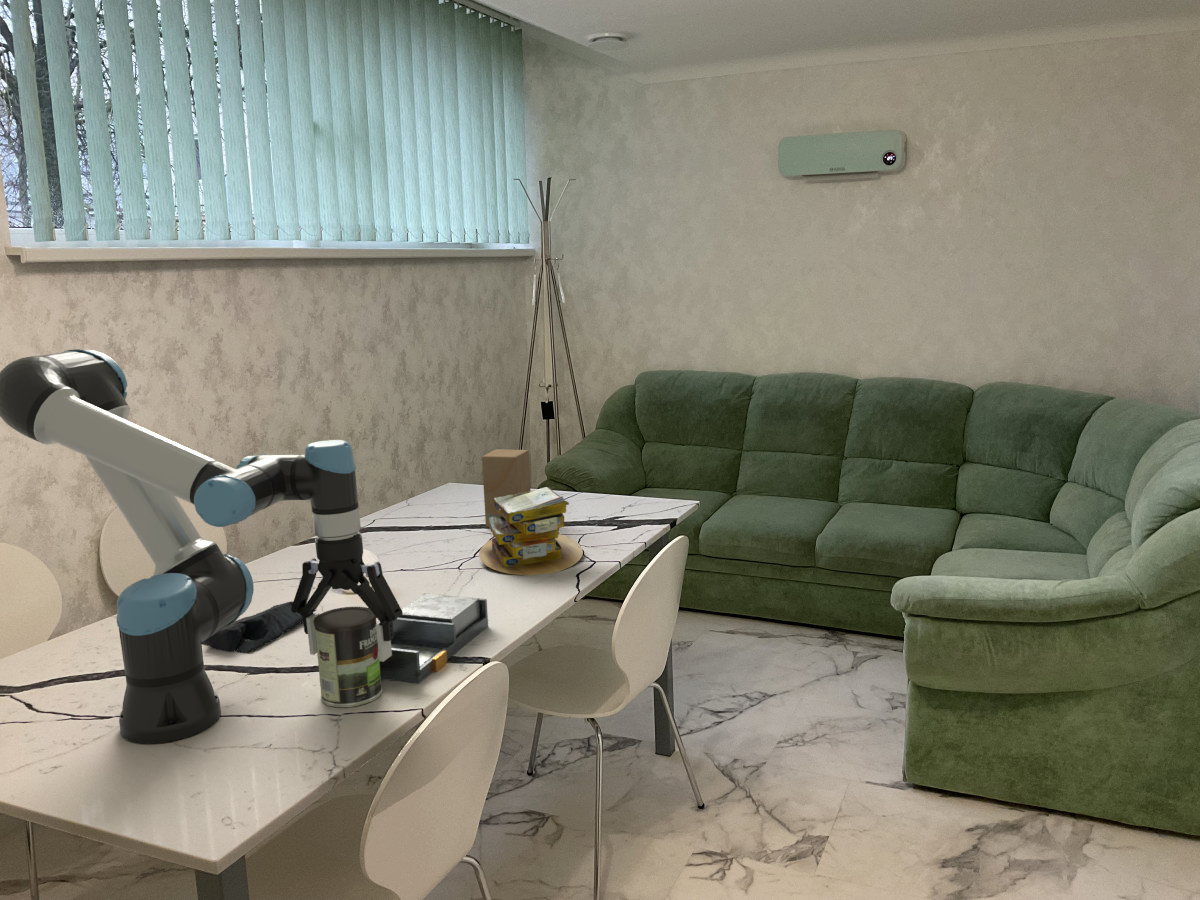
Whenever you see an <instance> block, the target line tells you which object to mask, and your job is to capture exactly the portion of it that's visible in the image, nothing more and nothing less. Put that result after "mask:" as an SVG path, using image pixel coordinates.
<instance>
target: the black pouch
mask: <svg viewBox="0 0 1200 900" xmlns="http://www.w3.org/2000/svg"><path fill="white" fill-rule="evenodd" d="M293 601H294V600H293ZM293 601H292V600H291V601H287V602H284V603H280V604H275V605H273V606H271V607H269V608H267V609H265V610H263V611H260V612H258V613H255V614H252V615H249V616H246V617H245V616H244V617H243V618H240V619H239V618H238V619H237V620H236V621H235V622H233V623H231V624H230V625H228V626H226V627H224V628H223V629H221V630H220V631H218V632H217V633H215V634H214V635H212V636H211V637H209V638H208V639H206V640H205V641H203V642H202V643H201V644H202V646H206V647H207V646H208V647H210V648H212V649H213V650H217V651H218V650H219V651H225V652H229V653H230V652H238V653H241V652H245V653H252V652H254V651H256V650H257V649H258V648H260V647H262V646H265V645H266V644H269V643H271V642H272V641H275V640H276V639H278V638H279V637H281V636H282V635H283V634H285V633H287V632H288V631H291V630H292V629H293V628H295V627H297V626H299V625H301V624H302V623H303V617H302V616H301V614H299V613H297V612H296V613H293V612H292V611H291V607H292V604H293Z"/></svg>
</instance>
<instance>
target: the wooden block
mask: <svg viewBox="0 0 1200 900" xmlns="http://www.w3.org/2000/svg"><path fill="white" fill-rule="evenodd" d="M529 453H530V452H529V450H528V449H508V448H507V449H503V448H502V449H501V448H498V449H497V448H496V449H493V450H492V451H490V452H488V453H485V455H484V454H483V455H482V456H481V465H482V481H483V482H482V483H483V485H482V486H483V496H484V497H483V498H484V500H483V501H484V502H483V503H484V516H485V517H484V520H485V527H486V528H488V529H490V528H489V518H488V517H489V516H490V515H494V516H495V515H498V516H501V514H499V512H498V511H496V510H495V508H494V498H498V497H503V496H507V495H513V496H514V495H515V494H520V493H519V492H521V493H523V492H524V494H527V493H525V492H528V491H530V492H532V490H531V475H530V474H531V473H530V472H531V471H530V454H529ZM530 492H528V493H530ZM515 496H516V495H515ZM487 513H488V514H490V515H488V514H487Z"/></svg>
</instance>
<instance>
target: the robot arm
mask: <svg viewBox="0 0 1200 900" xmlns="http://www.w3.org/2000/svg"><path fill="white" fill-rule="evenodd" d="M127 387H128V380H127V377H126V375H125V373H124V371H123V369H122V368H121V366H120V365H119V364H118V363H117V361H115V360H114V358H112V357H111V356H109V355H107V354H105V353H103V352H100V351H97V350H94V349H75V348H74V349H68V350H64V351H60V352H53V353H47V354H42V355H41V354H40V355H35V356H33V355H32V356H27V357H26V356H25V357H20V358H19V359H16V360H13V361H12V362H10V363H8V364H7V365H5V366H4V367H3V368H2V369H1V370H0V418H1V419H2V420H3V421H4V423H6V425H8V426H9V427H10V428H11V429H13V430H15V431H16V432H18V433H19V434H21V435H23V436H25V437H27V438H28V439H31V440H33V441H36V442H37V443H40V444H43V445H49V446H50V445H53V444H56V443H57V444H59V445H61V446H63V447H66V448H68V449H70V450H72V451H74V452H77V453H79V454H81V455H83V456H85V458H86V459H87V461H88V462H89V464H90V465H91V467H92V469H93V470H94V472H95V473H96V476H97V477H98V478H99V479H100V481H101V483H102V484H103V486H104V487H105V489H106V490H107V492H108V493H109V495H110V496H111V499H113V501H114V503H115V505H116V506H117V508H118V509H119V511H120V512H121V514H122V515H123V517H124V518H125V520H126V521H127V523H128V524H129V527H130V528H131V530H132V531H133V533H134V535H136V537H137V539H138V541H139V542H140V543H141V545H142V547H143V548H144V550H145V551H146V553H147V554H148V555H149V557H150V559H151V561H152V562H153V564H154V571H153V575H152V576H150V577H149V578H142V579H140V580H137V581H136V582H134V583H132V584H130V585H129V586H127V587H125V589H123V591H122V592H121V593H120V594H119V595H118V598H117V602H116V624H117V627H118V632H119V638H120V639H119V641H120V645H121V653H122V661H123V667H124V668H123V669H124V674H125V676H124V677H125V682H126V687H125V691H124V696H123V701H122V706H121V707H122V710H121V711H120V714H119V717H118V719H119V721H118V723H119V730H120V731H119V732H120V735H121V737H122V738H124V739H125V740H126V741H128V742H131V743H136V744H162V743H168V742H173V741H174V742H175V741H177V740H182V739H185V738H189V737H191V736H194V735H196V734H199V733H201V732H203V731H206V730H207V729H208V728H210V727H211V726H213V725H214V724H215V723H216V722H217V721H218V720H219V719H220V717H221V715H222V710H221V701H220V698H219V696H218V694H217V693H216V692H215V690H214V688H213V685H212V683H211V681H210V677H208V674H207V673H206V669H205V664H204V655H203V654H204V653H203V645H202V644H201V643H202V642H203V641H205V640H206V639H208V638H209V637H211V636H212V635H214V634H215V633H217V632H218V631H220V630H221V629H223V628H224V627H226V626H228V625H230V624H231V623H233V622H235V621H237V620H239V618H240V617H241V616H242V615H243V614H244V613H246V611H247V610H248V609H249V607H250V605H251V603H252V602H253V600H252V599H253V595H254V590H255V589H254V580H253V577H252V573H251V571H250V570H249V568H248V566H247V565H246V564H245V563H244V561H242V560H241V559H239V558H238V557H236V556H235V557H233V556H232V555H231V554H229V553H228V554H226V553H225V554H224V553H223V551H222V550H221V549H220V547H219V546H218V544H217V542H216V541H212V540H209V539H204V538H203V537H202V536H201V534H200V533H199V531H198V530H197V529H196V527H195V525H194V524H193V522H192V520H191V519H190V518H189V516H188V514H187V513H186V511H185V510H184V508H183V506H182V505H181V503H180V502H179V500H178V498H179V499H182V500H183V501H185V502H188V503H190V504H191V505H194V509H195V512H196V513H197V515H198V516H199V517H200V518H201V519H202V521H203V522H204V523H205V524H208V525H209V526H212V527H217V528H222V527H223V528H224V527H229V526H231V525H235V524H238V523H241V522H243V521H245V520H247V519H248V517H251V516H252V515H254V514H257V513H258V512H260V511H262V510H265V509H266V508H269V507H271V506H273V505H275V504H277V503H279V502H282V501H310V502H309V503H310V506H311V517H312V525H313V526H312V527H313V534H314V535H315V537H316V538H315V539H314V543H315V553H316V557H317V559H316V558H315V557H312V558H310V559H307V560H306V561H304V562H303V563H302V564H301V565H302V574H301V578H300V581H299V584H298V587H297V589H296V593H295V596H294V598H293V604H292V607H291V611H292V612H293V613H296V612H297V613H299V614H301V616H302V617H303V622H302V624H303V631H304V633H305V635H307V636H308V637H307V638H308V647H309V654H310V656H311V655H312V656H313V655H316V654H317V645H316V633H315V626H314V622H313V621H314V618H315V617H316V616H318V615H319V614H320V613H319V612H316V611H317V608H318V607H319V605H320V604H321V603H322V602H323V599H324V598H325V597H326V595H327V594H328V592H329V591H330V589H332V590H338V589H339V590H340V589H341V590H344V591H350V590H351V592H353V594H355V595H358V597H359V598H360V599H361V600H362V602H363V603H364V604H365V606H366V608H369V609H370V610H371V611H372V613H373V614H374V615H375V616H376V617H377V618H376V620H378V622H376V623H377V624H376V631H377V641H378V651H379V661H382V662H384V661H385V660H386V659H388V658H389V657H390V656H392V650H391V639H393V637H394V631H393V621H394V620H396V619H397V618H399V617H400V616H401V615H402V614H403V612H402V608H401V606H400V604H399V603H398V601H397V598H396V597H395V595H394V593H393V590H392V589H391V588H390V585H389V584H388V582H387V580H386V578H385V576H384V573H383V569H382V564H381V562H379V561H374V563H370V564H369V563H368V564H365V562H364V560H363V555H364V546H363V535H362V533H361V532H360V530H361V527H362V526H361V517H360V515H361V514H360V508H359V501H358V499H359V498H358V489H357V488H358V487H357V475H356V471H357V470H356V469H357V466H356V464H355V458H354V453H353V448H352V444H350V442H348V441H346V440H343V439H329V440H319V441H315V442H311V443H308V444H307V445H306V447H304V448H305V449H304V450H305V451H304V454H266V453H261V454H258V455H247V456H245V457H243V458H241V460H240V461H239V464H237V465H236V467H235V468H234V467H231V466H229V465H227V464H225V463H222V462H219V461H218V460H215V459H213V458H211V457H209V456H207V455H204V454H202V453H200V452H198V451H197V450H193V449H191V448H189V447H186V446H184V445H182V444H180V443H178V442H176V441H173V440H171V439H168V438H167V437H165V436H163V435H160V434H158V433H156V432H153V431H151V430H150V429H148V428H145V427H142V426H140V425H138V424H136V423H133V422H131V421H129V420H128V417H129V414H130V410H131V407H130V406H129V404H128V402H127V400H126V399H127V396H128V391H127ZM317 560H318V561H317ZM318 573H319V574H321V576H322V578H321V580H320V581H319V582H318V584H317V587H316V589H315V590H314V592H313V593H312V594H311V591H312V589H313V586H314V583H315V579H316V577H317V574H318ZM364 574H365V575H364ZM367 578H368V579H367ZM310 594H311V597H310ZM314 612H315V613H314Z"/></svg>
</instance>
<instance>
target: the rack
mask: <svg viewBox="0 0 1200 900" xmlns="http://www.w3.org/2000/svg"><path fill="white" fill-rule="evenodd" d="M401 610H402V612H403V614H402V615H401V616H400V617H399V618H397V619H396V620H394V621H393V631H394V637H393V639H391V650H392V656H390V657H389V658H388V659H386V660H385V661H384V662H382V661H379V663H380V675H381V680H388V681H395V682H405V683H410V684H411V683H414V684H420V683H421V682H422V681H424V680H425V679H427V677H429V676H430V675H431V674H432V673H433V672H434V673H437V672H438V671H440V670H441V669H442V668H444V666H446V665H447V664H448V660H449V659H450V658H451V657H453V656H454V655H456V653H458V652H459V651H460V650H461V649H462V648H464V647H465V646H466V645H468V644H469V643H470V642H471V641H472V640H473V639H475V638H476V637H477V636H478V635H480V633H482V632H484V630H486V629H487V628H488V627H489V616H488V600H487V598H480V597H479V598H477V597H467V596H457V595H444V594H434V593H425V592H424V593H422V595H421V596H419V597H418V598H417V599H415V600H413V601H412V602H411V603H409V604H408V605H406V606H405V607H403V608H401Z"/></svg>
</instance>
